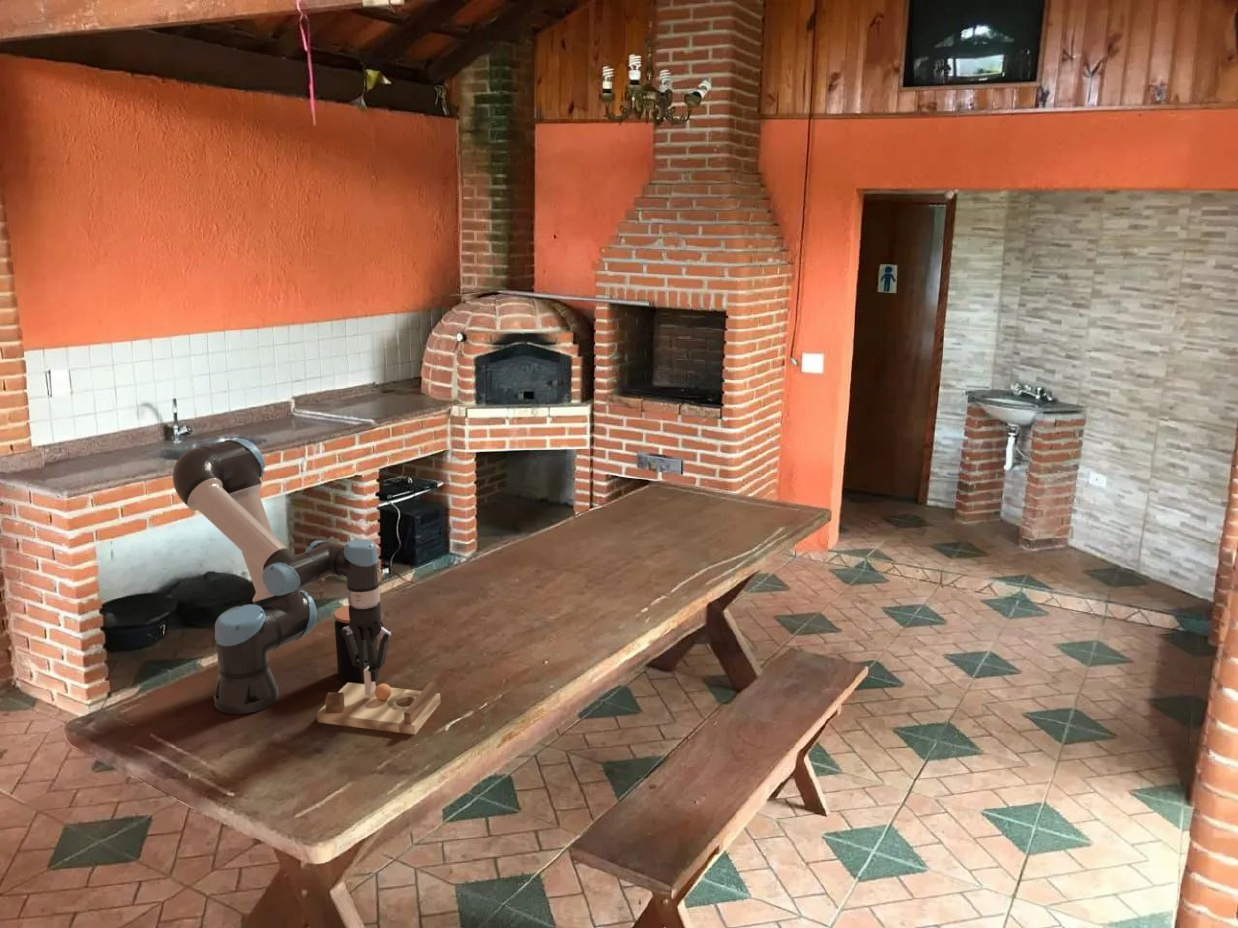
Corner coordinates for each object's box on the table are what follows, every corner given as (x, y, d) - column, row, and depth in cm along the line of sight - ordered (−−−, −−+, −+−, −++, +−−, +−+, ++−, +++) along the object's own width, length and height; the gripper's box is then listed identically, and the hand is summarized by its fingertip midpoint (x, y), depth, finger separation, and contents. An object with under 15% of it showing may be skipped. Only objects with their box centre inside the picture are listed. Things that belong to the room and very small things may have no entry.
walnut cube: (326, 713, 242) (325, 699, 242) (329, 706, 246) (328, 692, 245) (341, 713, 243) (340, 699, 242) (344, 705, 246) (343, 692, 245)
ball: (375, 685, 247) (389, 693, 246) (382, 678, 250) (396, 685, 250) (369, 698, 248) (383, 706, 248) (377, 690, 252) (391, 698, 251)
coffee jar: (387, 674, 267) (384, 611, 263) (352, 688, 260) (348, 623, 255) (365, 662, 275) (361, 600, 270) (330, 675, 267) (325, 611, 262)
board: (317, 722, 243) (316, 701, 242) (348, 691, 258) (347, 671, 257) (415, 734, 238) (414, 713, 237) (440, 702, 253) (439, 682, 252)
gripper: (332, 607, 241) (339, 696, 247) (382, 611, 239) (388, 702, 245) (346, 595, 249) (353, 682, 255) (396, 599, 246) (401, 688, 252)
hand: (370, 692), depth 250 cm, fingers closed
